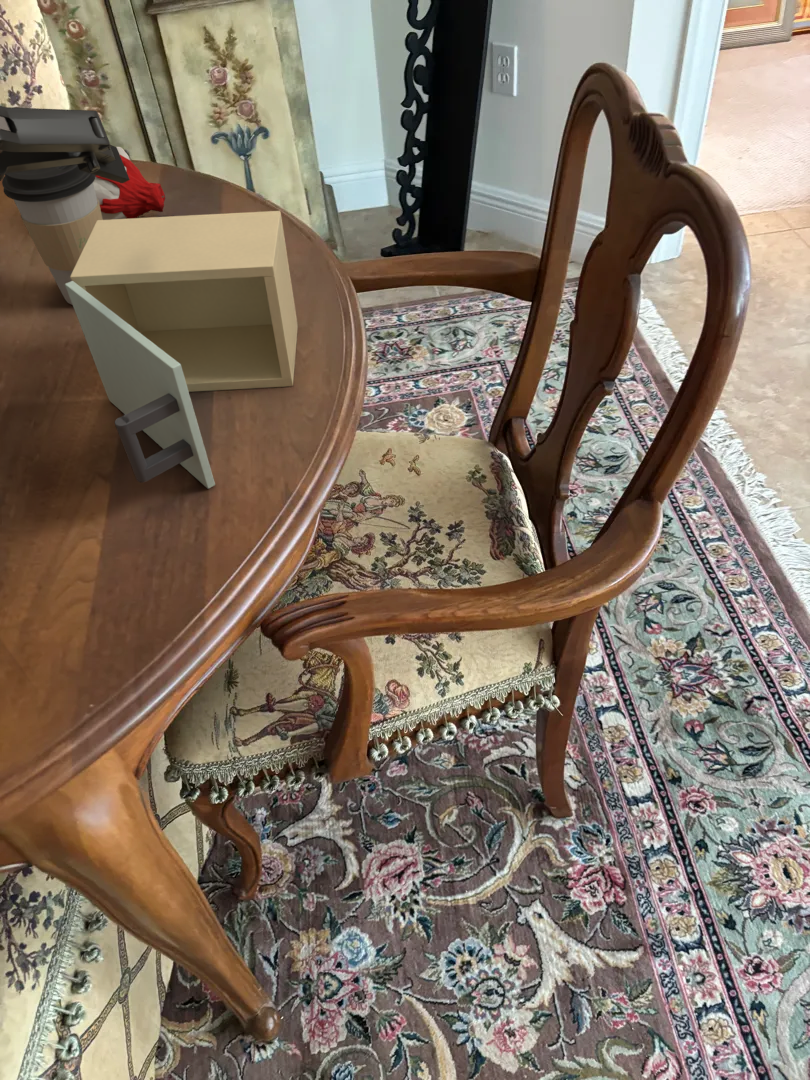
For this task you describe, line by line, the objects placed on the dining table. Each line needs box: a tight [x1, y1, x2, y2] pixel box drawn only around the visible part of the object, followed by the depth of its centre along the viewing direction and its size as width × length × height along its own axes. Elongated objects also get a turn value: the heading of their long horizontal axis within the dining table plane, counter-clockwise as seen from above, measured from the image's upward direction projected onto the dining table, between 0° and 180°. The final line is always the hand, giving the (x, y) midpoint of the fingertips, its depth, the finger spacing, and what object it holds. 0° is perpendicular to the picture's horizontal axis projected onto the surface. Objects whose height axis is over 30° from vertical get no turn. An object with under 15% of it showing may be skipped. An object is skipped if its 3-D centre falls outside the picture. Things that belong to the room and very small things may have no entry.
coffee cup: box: [1, 164, 103, 306], centre depth 87 cm, size 9×9×15 cm
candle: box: [93, 146, 166, 220], centre depth 102 cm, size 9×11×15 cm
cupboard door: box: [65, 281, 216, 490], centre depth 68 cm, size 6×18×13 cm, turn 43°
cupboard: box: [70, 210, 299, 393], centre depth 78 cm, size 11×18×13 cm, turn 93°
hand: (53, 197), depth 68 cm, fingers open, 13 cm apart
